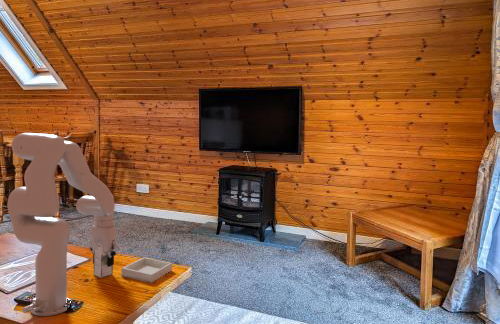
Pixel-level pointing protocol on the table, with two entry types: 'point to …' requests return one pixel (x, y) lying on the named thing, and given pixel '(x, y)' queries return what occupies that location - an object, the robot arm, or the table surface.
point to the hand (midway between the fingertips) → (103, 263)
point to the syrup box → (101, 263)
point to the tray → (146, 269)
